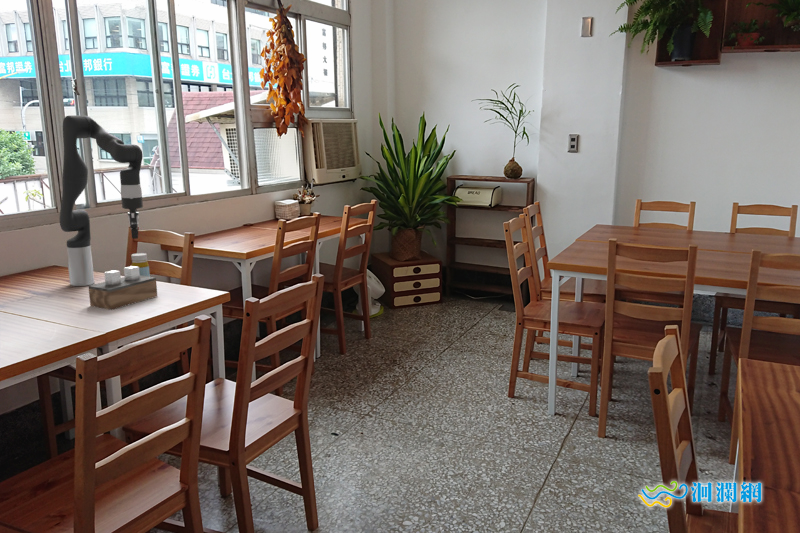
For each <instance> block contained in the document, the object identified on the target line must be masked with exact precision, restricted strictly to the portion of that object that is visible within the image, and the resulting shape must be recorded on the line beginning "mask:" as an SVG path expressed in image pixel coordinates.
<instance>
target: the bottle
mask: <svg viewBox="0 0 800 533" xmlns="http://www.w3.org/2000/svg"><path fill="white" fill-rule="evenodd" d="M130 256H131V257H130V258H131V264H130V266H136V267H139V273H140V275H142V276H148V277H151V275H150V264H149V262H148V254H147V253H146V252H145V253H144V252H138V253H137V252H136V253H132V254H131V255H130Z"/></svg>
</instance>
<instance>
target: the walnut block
mask: <svg viewBox="0 0 800 533" xmlns="http://www.w3.org/2000/svg"><path fill="white" fill-rule="evenodd" d="M157 285H158V284H157V277H155V276H154V277H153V276H150V277H148V276H142V275H140V279H138V280H134V281H128V280H125V276H122V277H121V284H118V285H114V286H109V285H106V284H105V281H103V282H98V283H96V284H95V283H94V284H91V285H87V286H88V294H89V304H90V305H91V306H90V307H94V306H95V308H100V309H107V310H110V309H111V311H112V309H113V310H115V308H116V309H119V308H122V306H123V307H126V306H128V304H130V305H133V304H136V303H139V301H140V302H143V301H146V300H145V299H147V300H149V299H148V298H150V299H153V298H152V297H154V298H156V297H155V296H157V297H158V289H157V288H158V287H157ZM142 300H143V301H142ZM135 302H136V303H135ZM132 303H133V304H132ZM125 305H126V306H125Z"/></svg>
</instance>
